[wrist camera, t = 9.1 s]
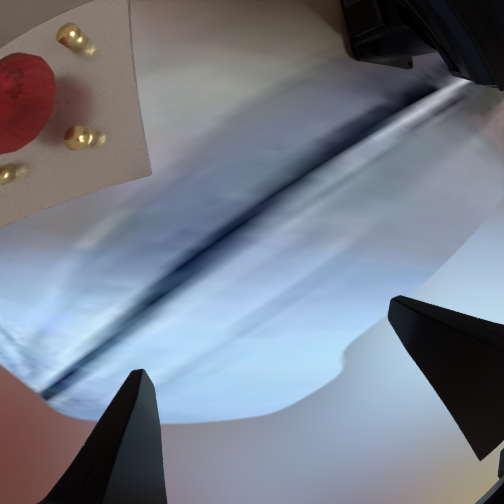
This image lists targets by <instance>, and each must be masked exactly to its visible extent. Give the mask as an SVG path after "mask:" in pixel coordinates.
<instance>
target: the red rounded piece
mask: <svg viewBox="0 0 504 504" xmlns="http://www.w3.org/2000/svg"><path fill="white" fill-rule="evenodd" d="M55 99H56V83H55V76H54V72H53V71H52V69H51V68H50V66H49V65H48V64H47V62H46V61H45V60H44V59H43V58H42V57H41V56H37V55H32V54H26V53H21V52H17V53H12V54H9V55H7V56H5V57H3V58H2V59H0V155H1V154H6V153H11V152H16V151H17V150H19V149H21V148H23V147H24V146H25V145H27V144H28V143H30V142H31V141H33V140H35V139H36V137H37V136H38V134H39V133H40V132H41V130H42V129H43V128H44V126H45V125H46V124H47V122H48V120H49V117H50V115H51V113H52V111H53V109H54V105H55Z"/></svg>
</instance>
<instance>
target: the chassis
mask: <svg viewBox="0 0 504 504" xmlns="http://www.w3.org/2000/svg"><path fill="white" fill-rule="evenodd" d="M17 52H21V53H26V54H32V55H37V56H41V57H42V58H43V59H44V60H45V61H46V62H47V64H48V65H49V66H50V68H51V69H52V71H53V72H54V76H55V83H56V99H55V105H54V109H53V111H52V113H51V115H50V117H49V120H48V122H47V124H46V125H45V126H44V128H43V129H42V130H41V132H40V133H39V134H38V136H37V137H36V139H35V140H33V141H31V142H30V143H28V144H27V145H25V146H24V147H23V148H21V149H19V150H17V151H16V152H11V153H6V154H1V155H0V228H1V227H3V226H6V225H8V224H10V223H12V222H15V221H17V220H19V219H22V218H24V217H27V216H29V215H31V214H34V213H36V212H39V211H41V210H44V209H47V208H49V207H52V206H54V205H57V204H60V203H63V202H65V201H68V200H71V199H74V198H77V197H80V196H83V195H86V194H89V193H92V192H95V191H98V190H101V189H105V188H108V187H111V186H114V185H118V184H121V183H125V182H128V181H132V180H135V179H139V178H143V177H147V176H151V175H152V169H151V165H150V160H149V155H148V150H147V144H146V139H145V133H144V128H143V122H142V116H141V109H140V103H139V96H138V89H137V81H136V73H135V65H134V55H133V45H132V33H131V18H130V0H95V1H92V2H89V3H86V4H84V5H81V6H79V7H76V8H74V9H72V10H69V11H67V12H65V13H63V14H61V15H58V16H56V17H54V18H52V19H50V20H48V21H46V22H44V23H42V24H40V25H38V26H37V27H35V28H33V29H31V30H29V31H28V32H26V33H24V34H23V35H21V36H19V37H18V38H16V39H14V40H13V41H11V42H10V43H8V44H7V45H5V46H4V47H2V48H1V49H0V59H2V58H3V57H5V56H7V55H9V54H12V53H17Z"/></svg>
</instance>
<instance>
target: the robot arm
mask: <svg viewBox="0 0 504 504" xmlns="http://www.w3.org/2000/svg"><path fill="white" fill-rule="evenodd" d="M340 2H341V5H342V9H343V14H344V18H345V22H346V26H347V30H348V34H349V37H350V42H351V47H352V52H353V56H354V58H355V59H356V60H358V61H363V62H370V63H376V64H382V65H388V66H393V67H399V68H403V69H412V68H413V61H412V56H417V55H422V54H428V53H435V52H438V53H439V54H440V56H441V57H442V58H443V60H444V61H445V63H446V65H447V66H448V68H449V71H450V73H451V74H452V76H455V77H459V78H463V79H466V80H470V81H473V82H474V83H475V84H477V85H482V86H489V87H493V88H498V89H499V90H500V91H504V0H340ZM359 54H360V55H361V57H360V56H359ZM388 320H389V322H390V324H391V325H392V327H393V329H394V330H395V332H396V334H397V335H398V337H399V339H400V340H401V342H402V344H403V346H404V347H405V349H406V350H407V352H408V353H409V355H410V356H411V357H412V359H413V360H414V361H415V363H416V364H417V366H418V367H419V368H420V370H421V371H422V372H423V374H424V375H425V377H426V378H427V380H428V381H429V383H430V384H431V385H432V387H433V388H434V390H435V391H436V393H437V394H438V396H439V397H440V399H441V400H442V401H443V403H444V405H445V406H446V407H447V409H448V410H449V412H450V413H451V415H452V417H453V418H454V420H455V421H456V423H457V425H458V426H459V428H460V430H461V431H462V433H463V434H464V436H465V438H466V439H467V441H468V443H469V444H470V446H471V447H472V449H473V451H474V453H475V454H476V456H477V458H478V459H479V460H480V461H481V460H482V459H484V458H485V457H486V456H487V455H488V454H490V453H491V452H492V451H493V450H494V449H495V448H496V447H497V446H498V445H499V444H500V443H501V442H502V441H503V440H504V325H503V324H498V323H494V322H490V321H487V320H484V319H480V318H478V319H477V317H473V316H470V315H466V314H463V313H460V312H456V311H453V310H449V309H446V308H442V307H439V306H435V305H432V304H429V303H425V302H422V301H419V300H415V299H412V298H408V297H405V296H402V295H399V296H396V297H394V298H392V299H391V300H390V305H389V311H388ZM84 444H85V445H83V446H82V448H81V449H80V451H79V453H78V454H77V456H76V457H75V459H74V460H73V462H72V463H71V465H70V466H69V467H68V469H67V470H66V471H65V473H64V474H63V475H62V477H61V478H60V479H59V481H58V482H57V483H56V484H55V486H54V487H53V488H52V490H51V491H50V492H49V494H48V495H47V496H46V497H45V498H44V499H43V500H42V501H40V502H39V503H37V504H167V497H166V489H165V480H164V469H163V457H162V443H161V427H160V420H159V414H158V408H157V401H156V393H155V388H154V385H153V383H152V381H151V380H150V378H149V376H148V374H147V373H146V371H145V370H144V369H137V370H133V371H131V373H130V374H129V376H128V377H127V379H126V380H125V382H124V383H123V385H122V386H121V388H120V389H119V391H118V392H117V394H116V395H115V397H114V398H113V400H112V401H111V403H110V404H109V406H108V407H107V409H106V410H105V412H104V413H103V415H102V416H101V418H100V420H99V421H98V423H97V424H96V426H95V428H94V429H93V430H92V432H91V434H90V435H89V437H88V438H87V440H86V442H85V443H84ZM498 477H499V478H500V479H499V481H498V482H497V483H496V484H495V485H494V486H493V487H492V488H491V489H490V490H489V491H488V492H487V493H486V494H485V495H484V496H483V497H482V498H481V499H480V500H479V501H477V502H476V503H475V504H504V448H503V449H502V451H501V452H500V462H499V470H498Z"/></svg>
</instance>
